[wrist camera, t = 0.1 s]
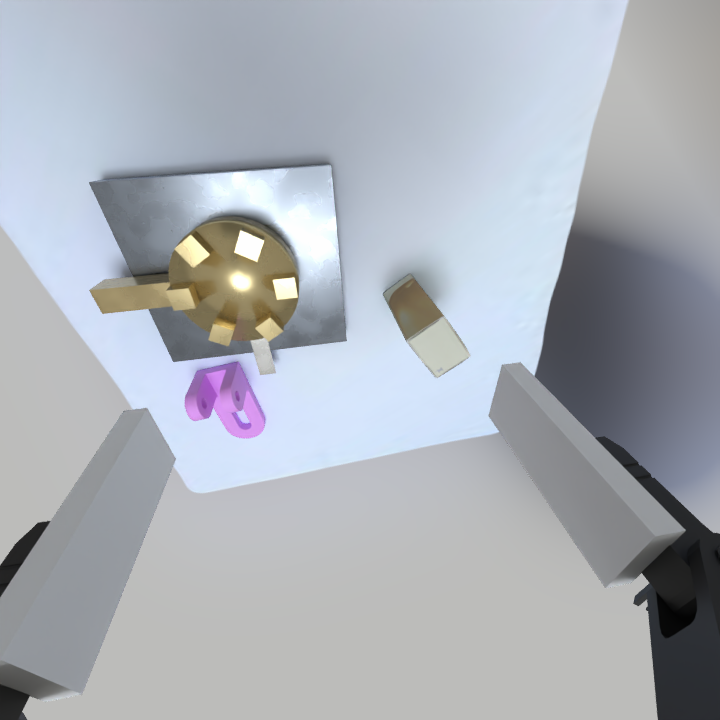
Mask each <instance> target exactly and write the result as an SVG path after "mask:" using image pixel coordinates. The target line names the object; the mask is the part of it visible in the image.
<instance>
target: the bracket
mask: <svg viewBox="0 0 720 720" xmlns="http://www.w3.org/2000/svg"><path fill="white" fill-rule="evenodd" d="M185 408H186V412H187V414H188V416H189V417H190V419H192V420H193V421H197V420H202V419H206V418H209V417H210V415H211V412H212V409H213V408H214V410H215V411H216V413H217V415H218V416H219V418H220V420H221V421H222V423H223V425H224V426H225V428H226V429H227V431H228V432H229V433H230V434H232V435H233V436H236V437H239V438H252V437H255V436H257V435H259V434H260V433H261V432H262V431H263V430H264V426H265V416H264V414H263V412H262V410H261V408H260V405H259V403H258V401H257V399H256V397H255V395H254V393H253V391H252V389H251V387H250V385H249V383H248V380H247V378H246V376H245V374H244V372H243V370H242V368H241V366H240V364H239V362H235V363H230V364H226V365H221V366H217V367H212V368H208V369H203V370H199V371H197V372H196V374H195V377H194V379H193V381H192V383H191V385H190V388H189V390H188V392H187V394H186V397H185ZM242 409H244V411H245V413H246V415H247V417H248V419H249V421H250V423H249V424H244V423H242V422H241V421H240V420H239V418H238V416H237V414H236V412H237V411H241V410H242Z"/></svg>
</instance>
